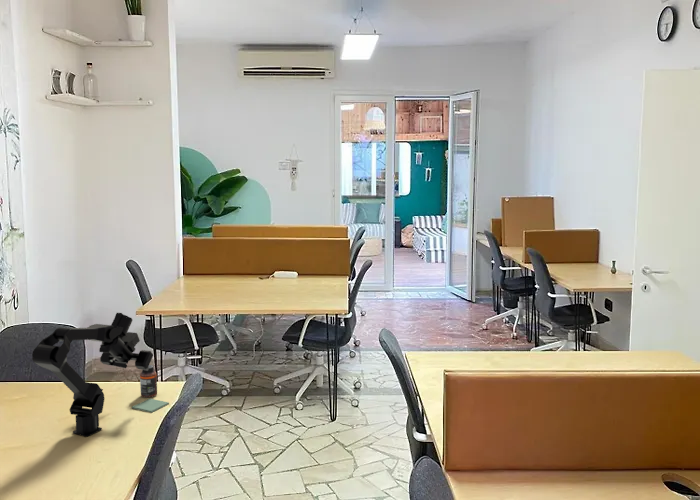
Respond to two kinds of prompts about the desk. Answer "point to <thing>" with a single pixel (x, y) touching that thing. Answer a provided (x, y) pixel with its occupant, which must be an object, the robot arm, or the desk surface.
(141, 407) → the mat
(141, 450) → the desk surface
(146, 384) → the supplement bottle
